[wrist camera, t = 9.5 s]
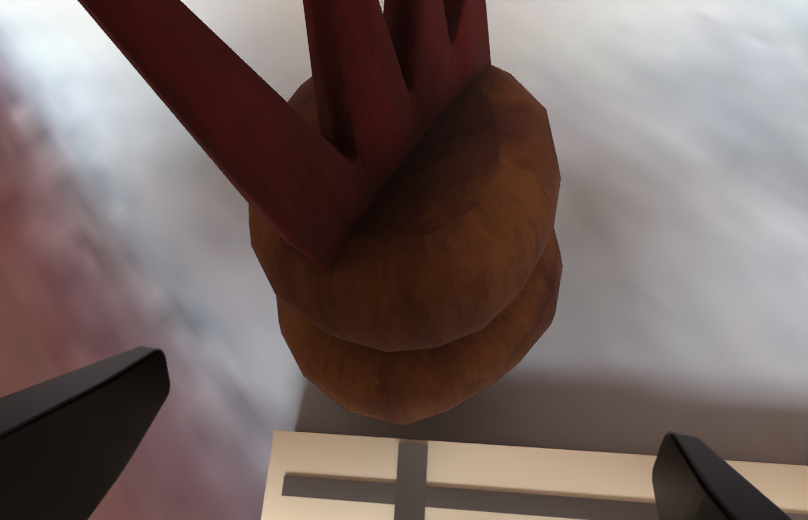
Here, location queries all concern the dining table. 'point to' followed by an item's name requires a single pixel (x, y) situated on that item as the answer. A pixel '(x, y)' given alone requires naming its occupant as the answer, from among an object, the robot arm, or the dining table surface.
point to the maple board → (477, 481)
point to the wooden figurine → (377, 191)
